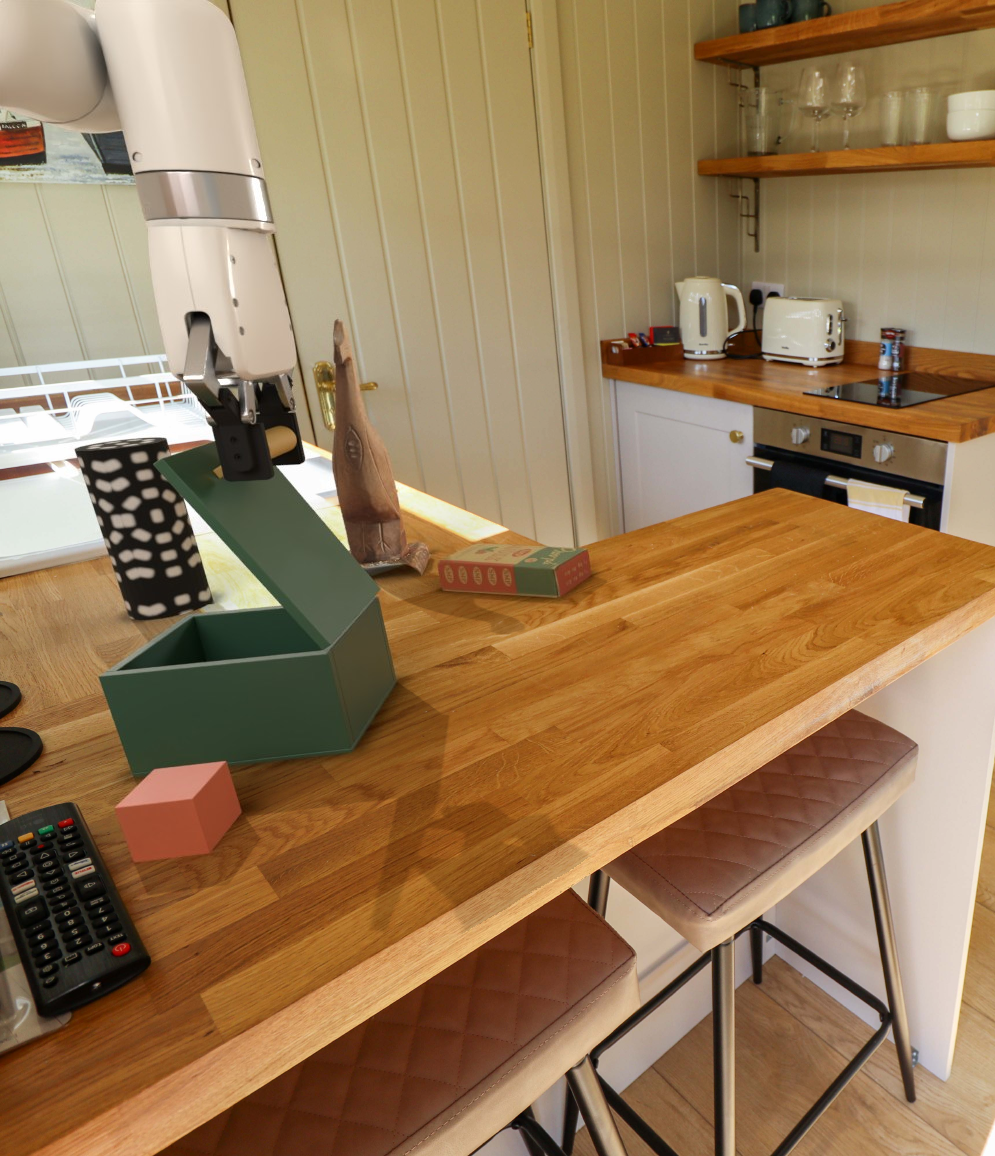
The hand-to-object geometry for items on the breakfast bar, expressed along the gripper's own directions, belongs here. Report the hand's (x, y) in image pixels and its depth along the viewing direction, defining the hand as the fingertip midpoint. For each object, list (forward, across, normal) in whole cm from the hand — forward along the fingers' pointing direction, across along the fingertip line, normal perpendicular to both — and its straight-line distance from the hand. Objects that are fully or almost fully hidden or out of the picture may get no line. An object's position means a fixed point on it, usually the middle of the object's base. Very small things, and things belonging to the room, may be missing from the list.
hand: (267, 469), depth 62 cm
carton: (+22, -32, +12) cm, 40 cm away
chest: (+22, 0, -4) cm, 22 cm away
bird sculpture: (+22, -43, -7) cm, 49 cm away
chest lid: (+5, 0, 0) cm, 5 cm away
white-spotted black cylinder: (+23, -35, -29) cm, 51 cm away
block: (+22, +15, -3) cm, 27 cm away
